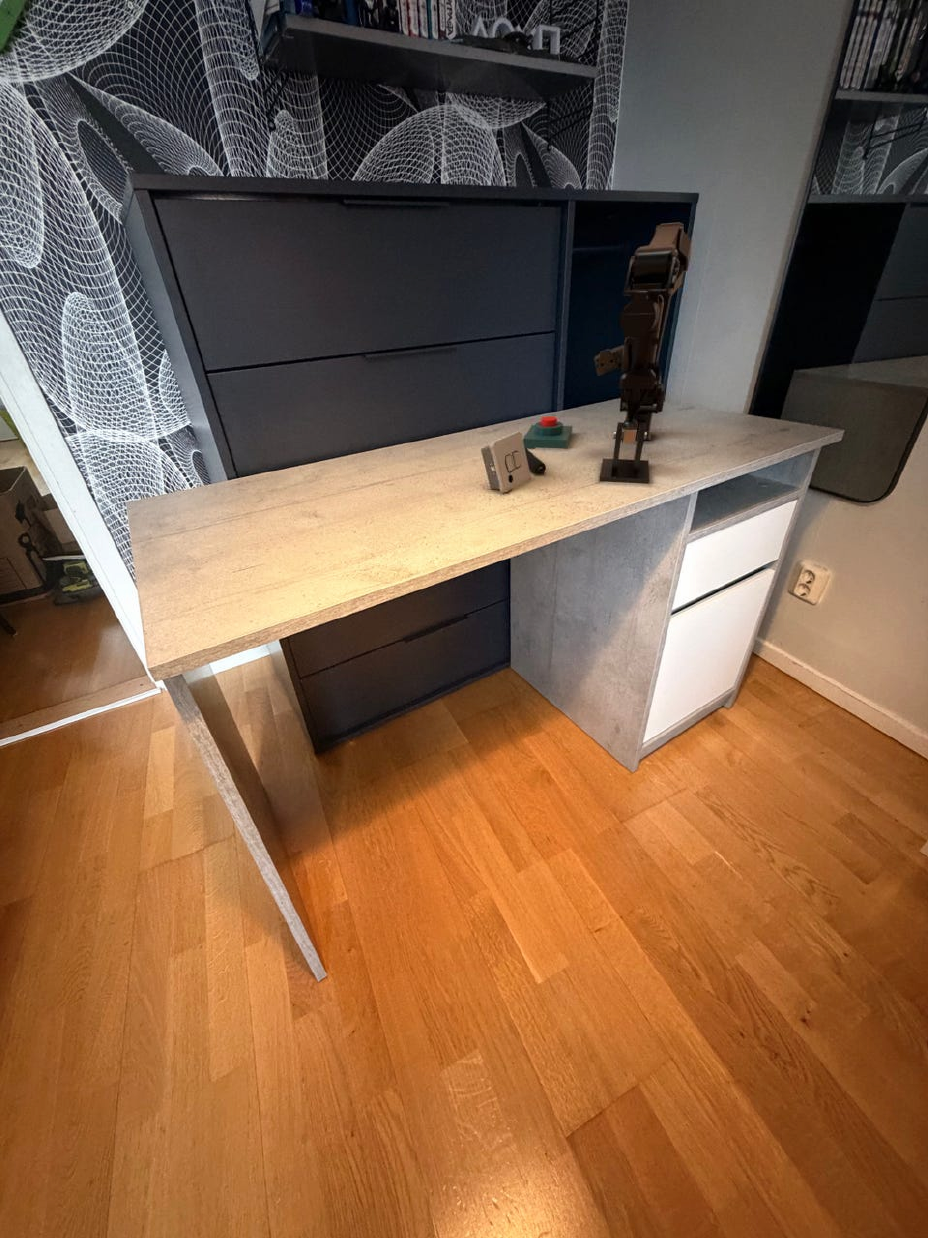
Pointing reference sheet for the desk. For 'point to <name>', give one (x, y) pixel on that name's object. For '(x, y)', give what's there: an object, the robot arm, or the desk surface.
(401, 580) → the desk surface
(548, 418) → the button
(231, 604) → the desk surface
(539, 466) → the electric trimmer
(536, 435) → the button block
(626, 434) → the lever
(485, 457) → the electrical switch
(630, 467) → the bracket
